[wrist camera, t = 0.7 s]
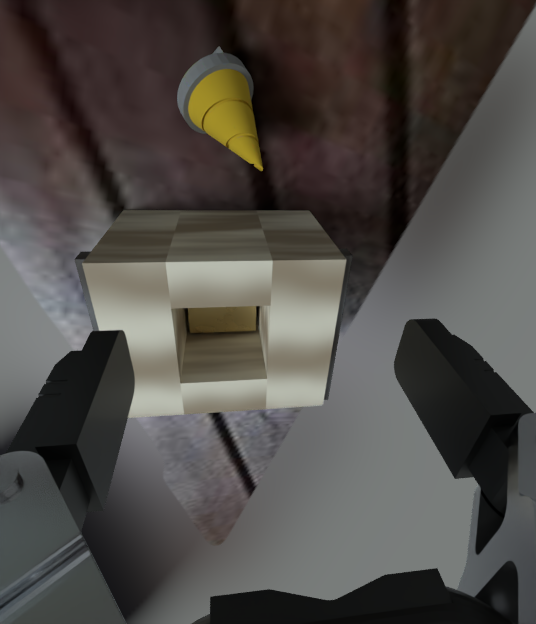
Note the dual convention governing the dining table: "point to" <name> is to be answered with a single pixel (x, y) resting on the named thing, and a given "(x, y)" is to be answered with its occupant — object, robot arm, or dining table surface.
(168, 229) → the socket block
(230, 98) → the drill bit
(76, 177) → the dining table surface
